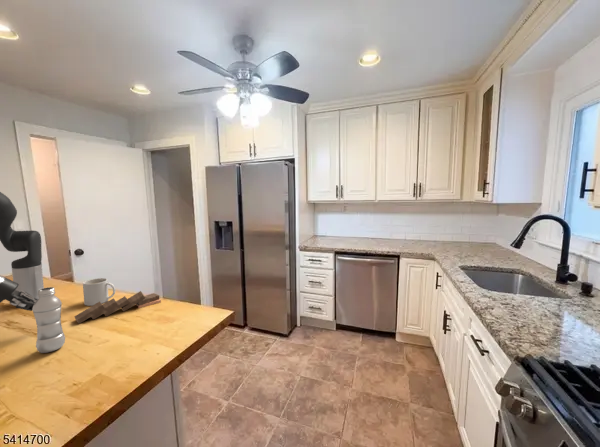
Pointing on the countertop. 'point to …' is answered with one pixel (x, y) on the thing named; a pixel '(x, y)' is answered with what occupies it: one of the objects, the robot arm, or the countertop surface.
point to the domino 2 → (106, 308)
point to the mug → (96, 291)
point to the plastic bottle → (48, 321)
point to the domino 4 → (133, 300)
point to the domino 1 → (89, 312)
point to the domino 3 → (120, 303)
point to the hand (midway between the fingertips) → (48, 311)
